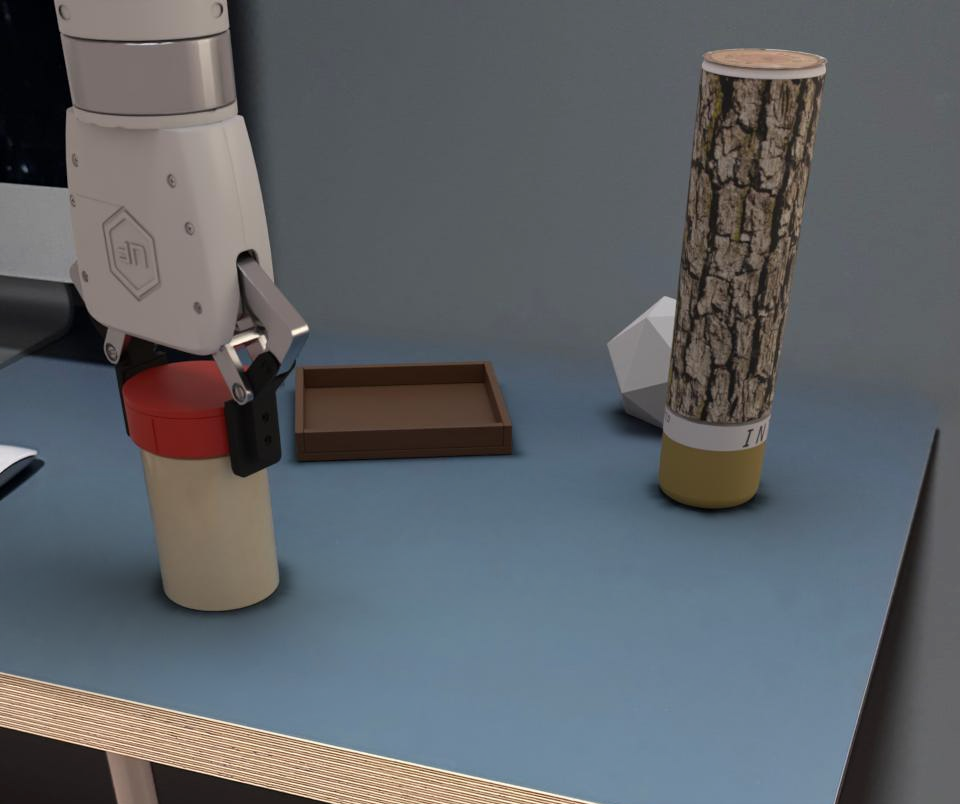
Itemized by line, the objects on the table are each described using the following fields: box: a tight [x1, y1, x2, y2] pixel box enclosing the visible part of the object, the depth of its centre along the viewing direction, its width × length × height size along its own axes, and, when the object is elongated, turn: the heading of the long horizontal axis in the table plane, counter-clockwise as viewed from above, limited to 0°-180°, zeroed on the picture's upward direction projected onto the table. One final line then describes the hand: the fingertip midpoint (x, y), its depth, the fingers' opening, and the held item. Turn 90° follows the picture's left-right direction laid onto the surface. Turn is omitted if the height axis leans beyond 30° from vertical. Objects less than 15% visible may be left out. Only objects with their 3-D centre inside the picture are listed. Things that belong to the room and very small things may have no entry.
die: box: [606, 295, 677, 429], centre depth 92 cm, size 8×9×10 cm
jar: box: [139, 448, 280, 612], centre depth 71 cm, size 7×7×11 cm
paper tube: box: [657, 48, 828, 510], centre depth 77 cm, size 7×7×25 cm
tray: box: [294, 360, 513, 462], centre depth 93 cm, size 15×13×2 cm
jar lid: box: [122, 360, 250, 458], centre depth 68 cm, size 8×8×2 cm
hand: (203, 447), depth 69 cm, fingers closed on jar lid, 7 cm apart
